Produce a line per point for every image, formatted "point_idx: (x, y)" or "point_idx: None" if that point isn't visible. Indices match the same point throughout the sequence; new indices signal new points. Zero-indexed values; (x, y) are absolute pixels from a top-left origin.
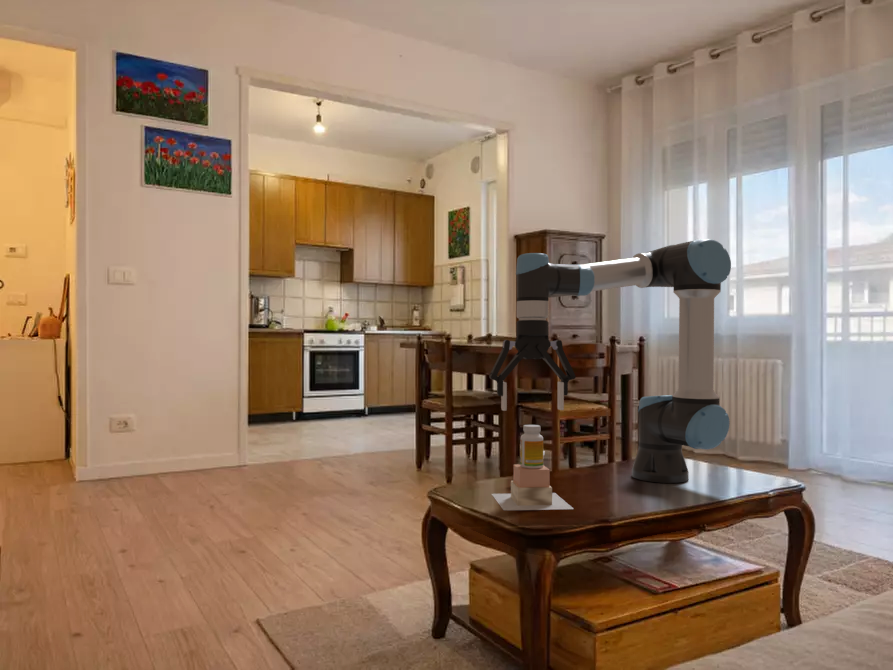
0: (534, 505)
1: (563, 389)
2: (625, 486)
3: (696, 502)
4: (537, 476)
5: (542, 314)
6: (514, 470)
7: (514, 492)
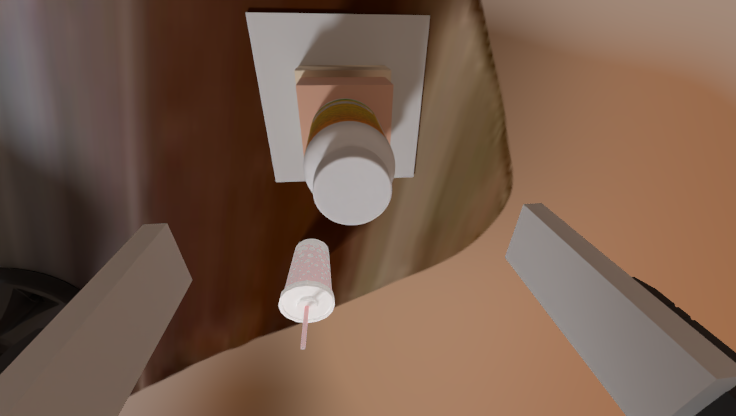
0: (343, 62)
1: (10, 368)
2: (111, 245)
3: None
4: (336, 81)
5: None
6: None
7: None
